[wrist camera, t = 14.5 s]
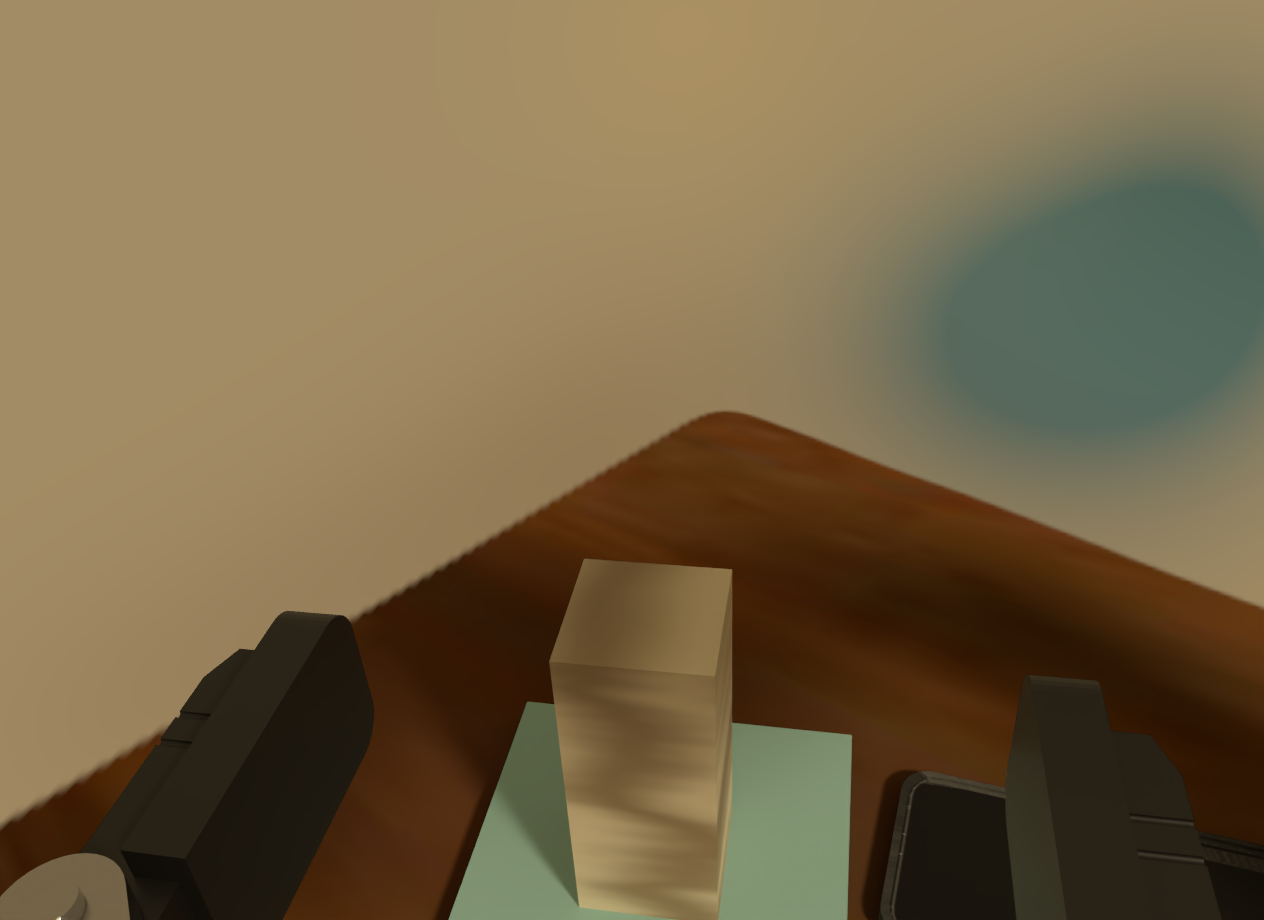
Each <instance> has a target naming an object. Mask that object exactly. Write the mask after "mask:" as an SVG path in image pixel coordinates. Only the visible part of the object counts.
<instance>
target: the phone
mask: <svg viewBox="0 0 1264 920" xmlns="http://www.w3.org/2000/svg"><path fill="white" fill-rule="evenodd" d="M1197 832H1198V835H1199V839H1200V843H1201V846H1202V850H1203V853H1204V865H1205V866H1207V868H1208V872H1209V875H1210V879H1211V882H1212V886H1213V890H1214V893H1215V897H1216V900H1217V904H1218V908H1219V911H1220V915H1221V919H1222V920H1264V845H1260V844H1255V843H1251V842H1246V841H1242V840H1237V839H1233V838H1228V837H1224V836H1219V835H1215V834H1210V833H1206V832H1201V831H1197ZM879 920H1017V919H1016V909H1015V900H1014V891H1013V881H1012V872H1011V863H1010V853H1009V844H1008V834H1007V825H1006V788H1003V787H999V786H995V785H990V784H986V783H981V782H977V781H972V780H968V779H963V778H959V777H954V776H950V775H945V774H941V773H936V772H928V771H923V772H917V773H915V774H912V775H910V776H909V777H908V778H907V779H906V780H905V781H904V783H903V785H902V788H901V793H900V799H899V804H898V810H897V815H896V821H895V826H894V832H893V837H892V843H891V848H890V854H889V860H888V865H887V871H886V876H885V882H884V887H883V893H882V898H881V904H880V912H879Z"/></svg>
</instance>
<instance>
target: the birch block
mask: <svg viewBox="0 0 1264 920" xmlns="http://www.w3.org/2000/svg"><path fill="white" fill-rule="evenodd" d="M549 664H550V672H551V680H552V688H553V697H554V705H555V713H556V721H557V729H558V737H559V746H560V754H561V762H562V770H563V778H564V786H565V795H566V803H567V811H568V819H569V827H570V836H571V844H572V852H573V860H574V868H575V876H576V885H577V893H578V901H579V907H582V908H590V909H597V910H605V911H613V912H621V913H628V914H636V915H644V916H652V917H660V918H667V919H675V920H718V919H719V910H720V902H721V894H722V886H723V878H724V870H725V862H726V854H727V846H728V838H729V830H730V822H731V814H732V569H720V568H706V567H692V566H679V565H665V564H651V563H637V562H623V561H609V560H596V559H584V561H583V564H582V567H581V570H580V573H579V576H578V578H577V581H576V584H575V587H574V590H573V593H572V596H571V599H570V602H569V605H568V608H567V611H566V614H565V617H564V620H563V623H562V625H561V628H560V631H559V634H558V637H557V640H556V643H555V646H554V649H553V652H552V655H551V658H550V661H549Z"/></svg>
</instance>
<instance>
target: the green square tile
mask: <svg viewBox="0 0 1264 920" xmlns="http://www.w3.org/2000/svg"><path fill="white" fill-rule="evenodd" d="M851 752H852V735H846V734H836V733H826V732H817V731H807V730H797V729H788V728H778V727H768V726H759V725H749V724H739V723H732V814H731V822H730V830H729V838H728V846H727V854H726V862H725V870H724V878H723V886H722V894H721V902H720V910H719V919H718V920H847V903H848V865H849V827H850V789H851ZM449 920H675V919H667V918H660V917H652V916H644V915H636V914H628V913H621V912H613V911H605V910H597V909H590V908H582V907H579V901H578V893H577V885H576V876H575V868H574V860H573V852H572V844H571V836H570V827H569V819H568V811H567V803H566V795H565V786H564V778H563V770H562V762H561V754H560V746H559V737H558V729H557V721H556V713H555V705H554V704H546V703H536V702H527V704H526V707H525V710H524V712H523V715H522V718H521V721H520V723H519V726H518V729H517V732H516V734H515V737H514V740H513V743H512V745H511V748H510V751H509V754H508V757H507V759H506V762H505V765H504V768H503V770H502V773H501V776H500V779H499V781H498V784H497V787H496V790H495V792H494V795H493V798H492V801H491V804H490V806H489V809H488V812H487V815H486V817H485V820H484V823H483V826H482V828H481V831H480V834H479V837H478V839H477V842H476V845H475V848H474V851H473V853H472V856H471V859H470V862H469V864H468V867H467V870H466V873H465V875H464V878H463V881H462V884H461V886H460V889H459V892H458V895H457V898H456V900H455V903H454V906H453V909H452V911H451V914H450V917H449Z"/></svg>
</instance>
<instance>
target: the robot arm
mask: <svg viewBox="0 0 1264 920" xmlns="http://www.w3.org/2000/svg"><path fill="white" fill-rule="evenodd" d="M373 721H374V708H373V701H372V697H371V693H370V690H369V686H368V682H367V679H366V675H365V672H364V668H363V664H362V661H361V657H360V654H359V650H358V646H357V643H356V639H355V636H354V632H353V629H352V626H351V623H350V622H349V620H348V619H347V618H346V617H344V616H342V615H330V614H318V613H306V612H294V611H286V612H283V613H281V614H280V615H279V616H278V617H277V618H276V619H275V621H274V622H273V623H272V625H271V626H270V628H269V629H268V631H267V632H266V634H265V635H264V637H263V638H262V640H261V641H260V643H259V644H258V646H257V647H256V649H255V650H246V649H239V650H238V651H237V652H235V653H234V654H233V655H231V656H230V657H229V658H228V659H226V660H225V661H224V662H223V663H221V664H220V665H219V666H217V667H216V668H215V669H214V670H212V671H211V672H210V673H209V674H207V675H206V676H205V677H204V678H203V679H202V680H201V682H200V683H199V685H198V686H197V688H196V689H195V690H194V692H193V693H192V695H191V696H190V698H189V699H188V701H187V702H186V703H185V705H184V706H183V707H182V709H181V710H180V717H179V718H176V717H175V719H174V720H173V722H172V723H171V724H170V726H169V727H168V729H167V730H166V732H165V733H164V734H163V736H162V737H161V743H160V745H156V746H155V747H154V749H153V750H152V751H151V753H150V754H149V756H148V757H147V758H146V760H145V761H144V763H143V764H142V766H141V767H140V768H139V770H138V771H137V773H136V774H135V775H134V777H133V778H132V780H131V781H130V783H129V784H128V785H127V787H126V788H125V790H124V791H123V792H122V794H121V795H120V797H119V798H118V800H117V801H116V802H115V804H114V805H113V807H112V808H111V810H110V811H109V812H108V814H107V815H106V817H105V818H104V819H103V821H102V822H101V824H100V825H99V827H98V828H97V829H96V831H95V832H94V834H93V835H92V836H91V838H90V839H89V841H88V842H87V844H86V845H85V846H84V847H83V849H82V850H81V851H80V852H79V854H72V855H67V856H63V857H60V858H57V859H54V860H51V861H49V862H47V863H44V864H42V865H40V866H38V867H37V868H35V869H33V870H31V871H30V872H28V873H27V874H25V875H24V876H23V877H21V878H20V879H18V880H17V881H16V882H15V883H14V884H13V885H11V886H10V887H9V888H8V889H7V890H6V891H5V892H4V893H3V894H2V896H1V897H0V920H282V919H283V917H284V915H285V913H286V911H287V909H288V907H289V905H290V903H291V901H292V899H293V897H294V895H295V893H296V891H297V889H298V887H299V885H300V883H301V881H302V879H303V877H304V875H305V873H306V871H307V869H308V867H309V865H310V863H311V861H312V859H313V857H314V855H315V853H316V851H317V849H318V847H319V845H320V843H321V841H322V839H323V837H324V835H325V833H326V831H327V829H328V827H329V825H330V823H331V821H332V819H333V817H334V815H335V813H336V811H337V809H338V807H339V805H340V803H341V801H342V799H343V797H344V795H345V793H346V791H347V789H348V787H349V785H350V783H351V781H352V779H353V777H354V775H355V773H356V771H357V769H358V767H359V765H360V763H361V761H362V759H363V757H364V755H365V753H366V751H367V748H368V746H369V743H370V739H371V735H372V730H373ZM1006 825H1007V834H1008V844H1009V853H1010V863H1011V872H1012V881H1013V891H1014V900H1015V909H1016V919H1017V920H1222V919H1221V915H1220V911H1219V908H1218V904H1217V900H1216V897H1215V893H1214V890H1213V886H1212V882H1211V879H1210V875H1209V872H1208V868H1207V866H1205V865H1204V853H1203V850H1202V846H1201V843H1200V839H1199V835H1198V832H1197V829H1195V828H1194V817H1193V814H1192V810H1191V806H1190V803H1189V799H1188V795H1187V792H1186V788H1185V785H1184V781H1183V777H1182V775H1181V774H1180V772H1179V771H1178V770H1177V768H1176V767H1175V766H1174V765H1173V763H1172V762H1171V761H1170V759H1169V758H1168V757H1167V756H1166V754H1165V753H1164V752H1163V751H1162V749H1161V748H1160V747H1159V745H1158V744H1157V743H1156V742H1155V740H1154V739H1153V738H1152V736H1151V735H1148V734H1137V733H1126V732H1115V731H1111V729H1110V724H1109V720H1108V715H1107V710H1106V706H1105V701H1104V697H1103V693H1102V689H1101V686H1100V684H1099V683H1098V682H1097V681H1094V680H1082V679H1070V678H1058V677H1046V676H1034V675H1026V676H1025V678H1024V681H1023V685H1022V690H1021V695H1020V701H1019V706H1018V712H1017V717H1016V723H1015V728H1014V734H1013V740H1012V745H1011V751H1010V756H1009V762H1008V768H1007V777H1006Z"/></svg>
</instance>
